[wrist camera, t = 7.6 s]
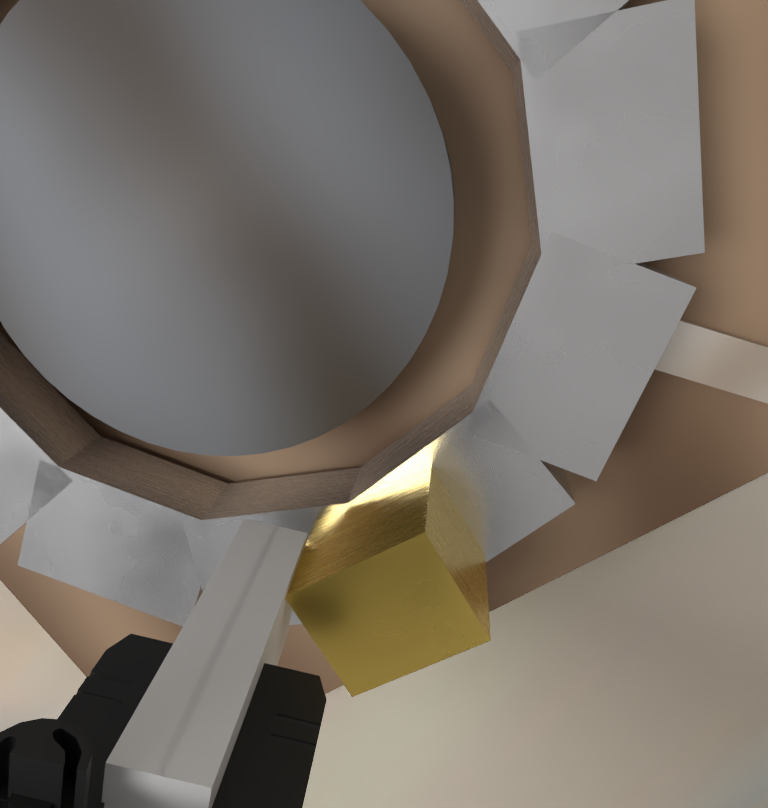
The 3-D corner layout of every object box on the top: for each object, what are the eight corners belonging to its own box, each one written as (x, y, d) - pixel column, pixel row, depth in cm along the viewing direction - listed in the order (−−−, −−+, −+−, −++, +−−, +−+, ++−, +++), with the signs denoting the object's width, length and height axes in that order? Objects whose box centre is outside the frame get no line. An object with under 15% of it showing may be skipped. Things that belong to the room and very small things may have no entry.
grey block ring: (690, 541, 18) (774, 679, 13) (-5, 610, 20) (-145, 744, 16) (637, -464, 12) (752, -873, 7) (-311, -174, 15) (-672, -333, 10)
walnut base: (193, 723, 24) (135, 843, 20) (-363, 79, 19) (-600, 55, 15) (923, 345, 18) (1069, 402, 14) (383, -758, 13) (345, -1216, 9)
